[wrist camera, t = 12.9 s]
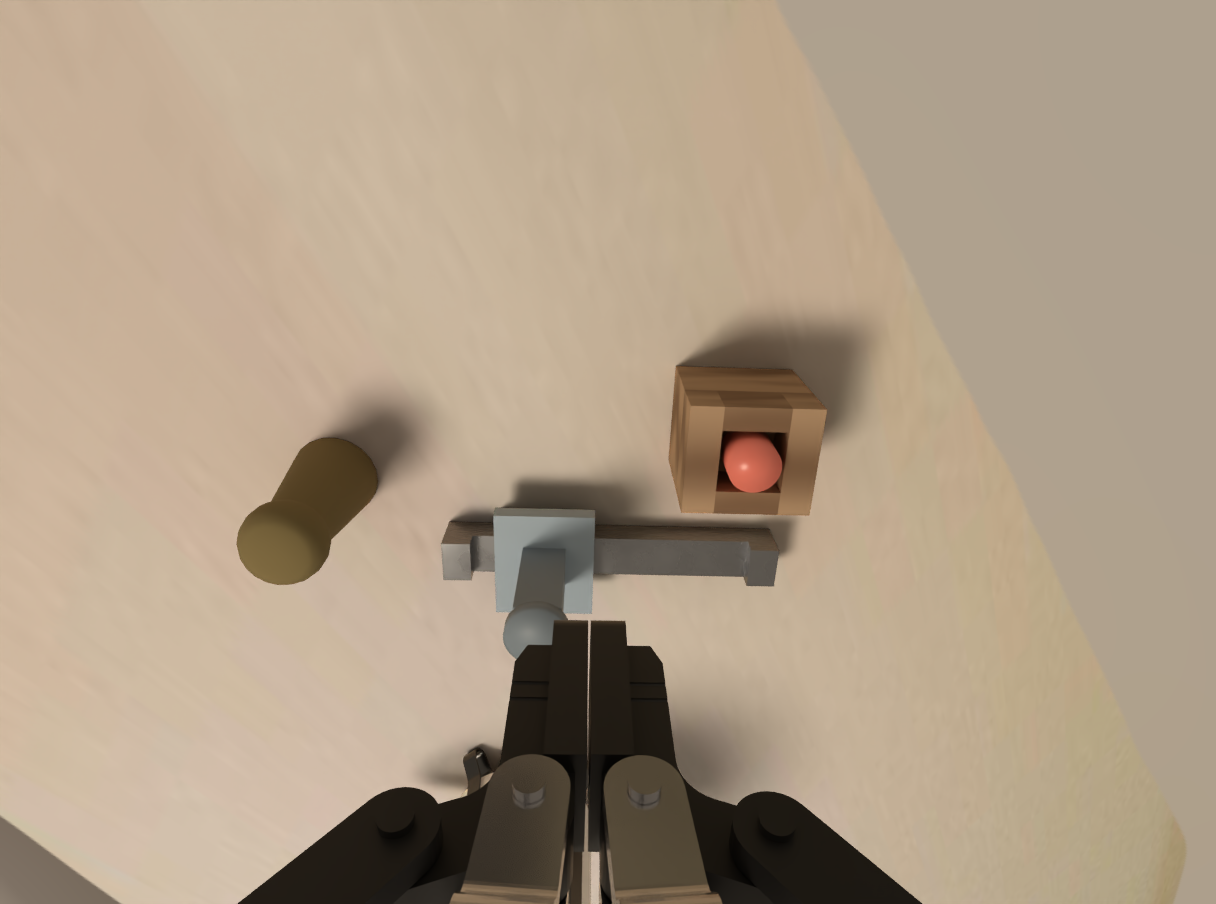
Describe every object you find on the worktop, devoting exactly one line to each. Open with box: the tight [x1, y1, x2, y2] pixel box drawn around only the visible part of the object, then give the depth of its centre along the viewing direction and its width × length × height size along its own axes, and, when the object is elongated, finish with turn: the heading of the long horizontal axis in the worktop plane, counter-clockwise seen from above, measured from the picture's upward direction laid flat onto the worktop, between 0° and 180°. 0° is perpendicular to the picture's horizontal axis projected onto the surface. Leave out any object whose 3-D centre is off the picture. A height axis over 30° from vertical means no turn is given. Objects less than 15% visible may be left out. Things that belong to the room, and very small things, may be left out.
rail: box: [441, 522, 779, 586], centre depth 53 cm, size 3×24×3 cm, turn 88°
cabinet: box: [669, 366, 827, 516], centre depth 47 cm, size 7×8×8 cm
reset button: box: [720, 431, 782, 493], centre depth 43 cm, size 3×3×3 cm
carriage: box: [493, 508, 595, 659], centre depth 49 cm, size 8×7×11 cm
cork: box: [237, 438, 378, 585], centre depth 46 cm, size 6×6×11 cm
